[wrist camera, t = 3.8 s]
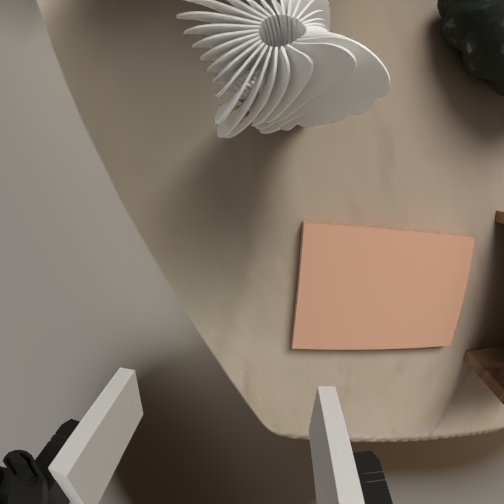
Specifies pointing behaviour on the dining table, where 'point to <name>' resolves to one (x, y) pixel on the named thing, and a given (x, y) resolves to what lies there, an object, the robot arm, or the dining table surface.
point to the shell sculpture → (284, 65)
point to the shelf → (489, 357)
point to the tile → (378, 287)
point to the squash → (477, 36)
